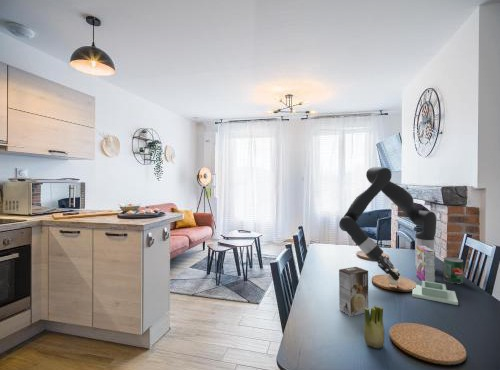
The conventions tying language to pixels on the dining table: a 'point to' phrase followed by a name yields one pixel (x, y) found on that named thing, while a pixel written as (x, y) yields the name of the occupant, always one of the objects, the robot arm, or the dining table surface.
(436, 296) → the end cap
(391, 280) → the ash slat
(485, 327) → the dining table surface
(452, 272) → the canned tomato
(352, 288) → the coffee box
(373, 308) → the fennel bulb
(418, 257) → the candy bar box
